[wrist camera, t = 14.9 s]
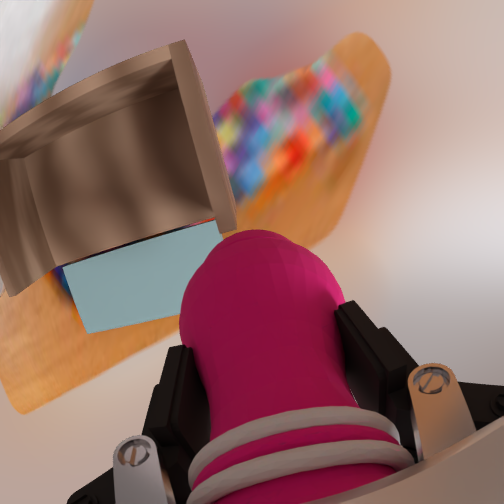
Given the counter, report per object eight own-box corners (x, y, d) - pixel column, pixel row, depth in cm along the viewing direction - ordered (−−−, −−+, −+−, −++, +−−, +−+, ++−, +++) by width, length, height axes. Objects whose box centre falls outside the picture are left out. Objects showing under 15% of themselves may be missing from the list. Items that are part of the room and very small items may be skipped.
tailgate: (70, 263, 31) (94, 327, 32) (62, 267, 29) (87, 333, 30) (217, 218, 30) (239, 293, 32) (216, 219, 29) (239, 299, 30)
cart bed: (68, 256, 34) (9, 297, 21) (38, 151, 30) (-32, 155, 17) (235, 204, 33) (236, 229, 21) (202, 83, 29) (184, 39, 17)
